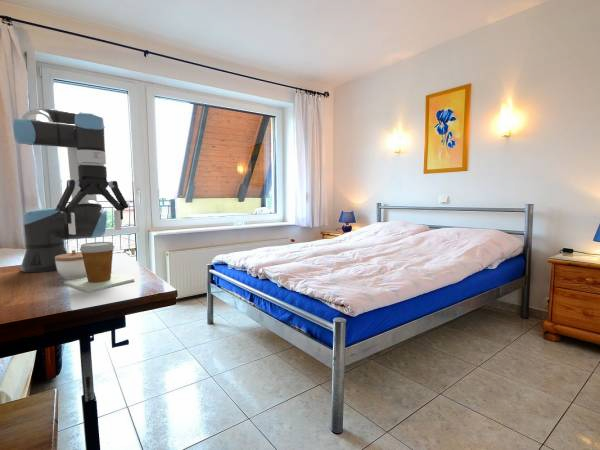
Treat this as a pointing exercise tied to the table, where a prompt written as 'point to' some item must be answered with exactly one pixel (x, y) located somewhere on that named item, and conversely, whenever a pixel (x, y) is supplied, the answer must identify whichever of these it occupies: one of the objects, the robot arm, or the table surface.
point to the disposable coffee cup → (97, 260)
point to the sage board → (98, 283)
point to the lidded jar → (70, 265)
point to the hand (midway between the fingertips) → (96, 231)
